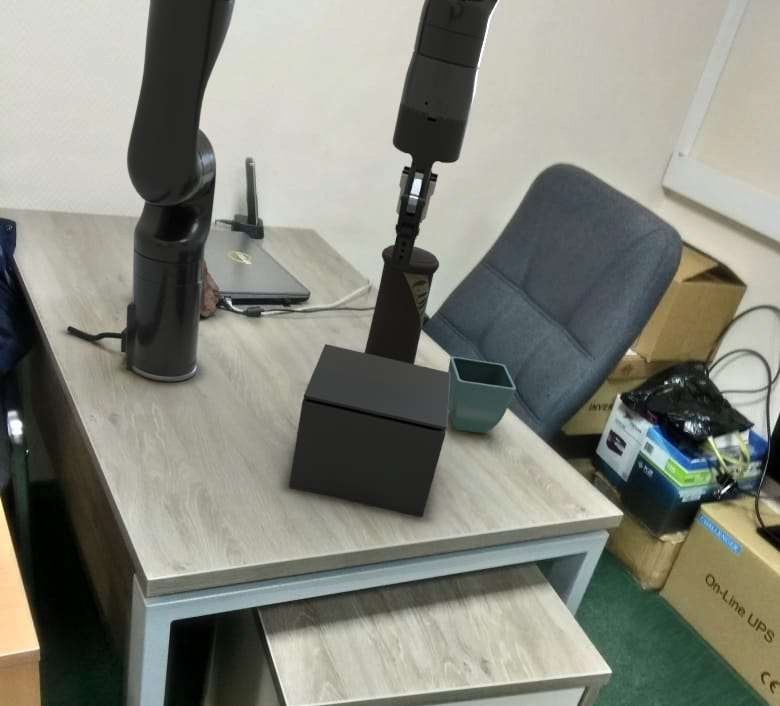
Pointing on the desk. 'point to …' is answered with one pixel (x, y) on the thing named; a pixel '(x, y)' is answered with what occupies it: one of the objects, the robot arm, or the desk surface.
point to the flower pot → (478, 394)
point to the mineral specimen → (208, 293)
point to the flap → (384, 370)
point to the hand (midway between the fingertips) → (399, 266)
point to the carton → (368, 442)
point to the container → (401, 306)
